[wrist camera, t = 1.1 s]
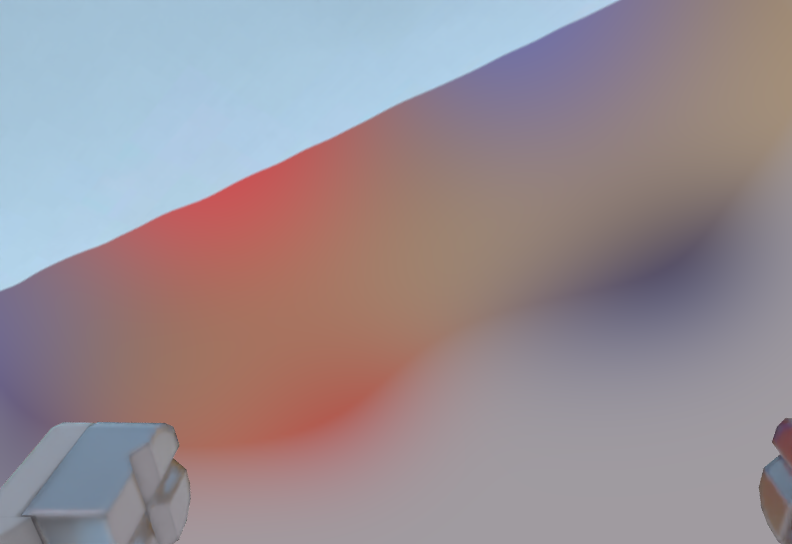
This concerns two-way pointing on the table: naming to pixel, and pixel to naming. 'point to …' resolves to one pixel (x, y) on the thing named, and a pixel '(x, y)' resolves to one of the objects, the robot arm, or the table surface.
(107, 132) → the table surface
